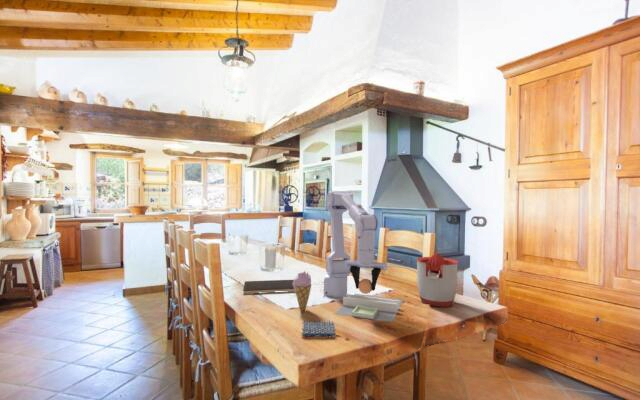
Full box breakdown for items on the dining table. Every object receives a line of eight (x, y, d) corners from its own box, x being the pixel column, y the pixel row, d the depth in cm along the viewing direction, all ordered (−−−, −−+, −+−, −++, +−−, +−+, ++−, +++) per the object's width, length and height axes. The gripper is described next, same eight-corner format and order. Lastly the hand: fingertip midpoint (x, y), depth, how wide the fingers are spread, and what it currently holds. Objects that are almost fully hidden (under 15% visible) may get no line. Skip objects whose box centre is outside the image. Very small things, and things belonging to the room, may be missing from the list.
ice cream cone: (296, 316, 111) (296, 273, 111) (289, 311, 117) (290, 269, 117) (313, 313, 115) (314, 271, 115) (306, 308, 120) (306, 268, 120)
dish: (351, 315, 110) (351, 311, 110) (357, 309, 117) (357, 305, 117) (373, 319, 107) (373, 314, 107) (378, 312, 114) (378, 308, 114)
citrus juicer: (411, 306, 124) (411, 254, 124) (420, 294, 139) (420, 248, 139) (455, 313, 116) (456, 257, 116) (459, 300, 132) (460, 251, 132)
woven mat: (334, 326, 105) (334, 320, 105) (336, 340, 94) (336, 333, 94) (302, 326, 104) (302, 320, 104) (300, 340, 94) (301, 333, 94)
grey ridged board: (334, 316, 112) (334, 304, 112) (355, 296, 136) (355, 286, 136) (392, 325, 104) (392, 313, 104) (403, 302, 129) (403, 292, 129)
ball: (356, 294, 111) (356, 279, 111) (360, 290, 115) (360, 276, 115) (370, 296, 109) (371, 281, 109) (374, 292, 113) (374, 278, 113)
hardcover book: (297, 293, 141) (297, 288, 141) (243, 295, 137) (243, 290, 137) (293, 284, 157) (293, 279, 157) (244, 285, 153) (244, 281, 153)
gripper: (342, 249, 111) (341, 289, 111) (384, 252, 106) (384, 294, 106) (348, 247, 118) (348, 284, 118) (388, 249, 112) (388, 288, 112)
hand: (365, 288), depth 112 cm, fingers closed on ball, 5 cm apart
